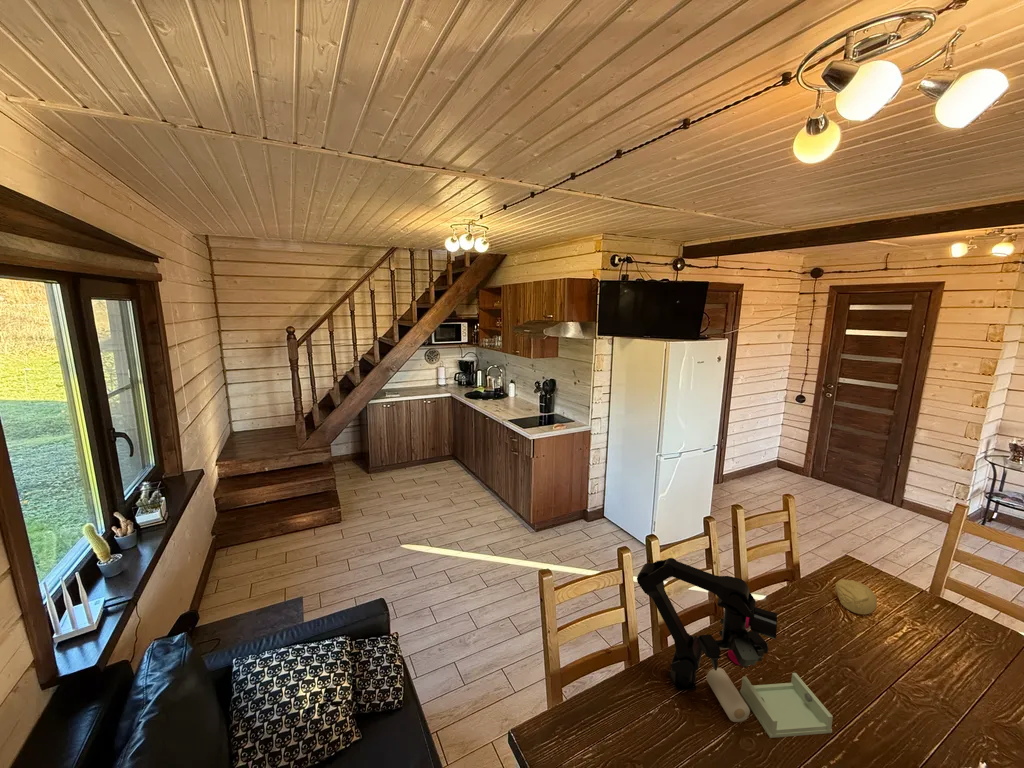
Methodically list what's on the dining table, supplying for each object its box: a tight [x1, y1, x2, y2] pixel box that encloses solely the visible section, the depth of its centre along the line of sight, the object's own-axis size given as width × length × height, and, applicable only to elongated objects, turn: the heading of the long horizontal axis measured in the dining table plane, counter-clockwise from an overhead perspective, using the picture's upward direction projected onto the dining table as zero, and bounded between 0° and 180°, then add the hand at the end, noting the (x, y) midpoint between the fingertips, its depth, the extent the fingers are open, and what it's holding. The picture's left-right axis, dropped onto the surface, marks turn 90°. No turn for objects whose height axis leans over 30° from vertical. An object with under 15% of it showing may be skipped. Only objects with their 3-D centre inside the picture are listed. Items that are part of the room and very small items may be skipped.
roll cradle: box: [739, 672, 834, 739], centre depth 122 cm, size 18×14×6 cm
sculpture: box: [834, 578, 878, 615], centre depth 162 cm, size 12×12×11 cm
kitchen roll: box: [705, 667, 751, 723], centre depth 125 cm, size 13×6×6 cm, turn 3°
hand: (729, 668), depth 123 cm, fingers open, 9 cm apart
